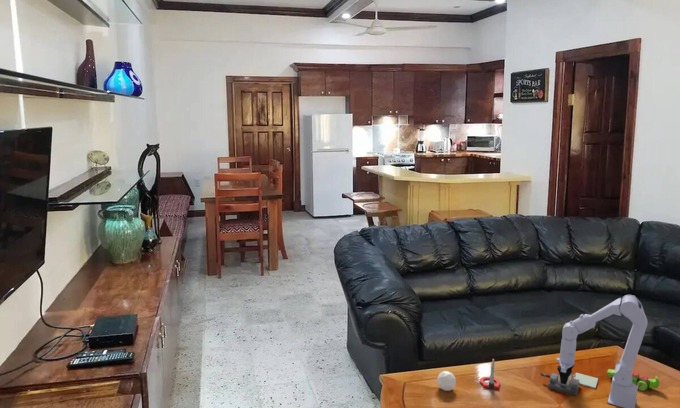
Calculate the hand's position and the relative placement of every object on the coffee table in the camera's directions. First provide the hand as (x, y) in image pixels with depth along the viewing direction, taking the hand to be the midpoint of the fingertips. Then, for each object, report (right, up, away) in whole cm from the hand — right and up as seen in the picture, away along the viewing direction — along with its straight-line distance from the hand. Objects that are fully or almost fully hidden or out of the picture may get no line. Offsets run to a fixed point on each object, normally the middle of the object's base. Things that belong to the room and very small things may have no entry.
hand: (564, 381), depth 221 cm
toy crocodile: (+31, -3, +5) cm, 32 cm away
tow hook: (-31, -2, +2) cm, 31 cm away
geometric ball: (-51, -3, -3) cm, 51 cm away
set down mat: (+12, -2, +6) cm, 13 cm away
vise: (-2, -3, +2) cm, 4 cm away
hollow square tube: (0, -1, 0) cm, 1 cm away
